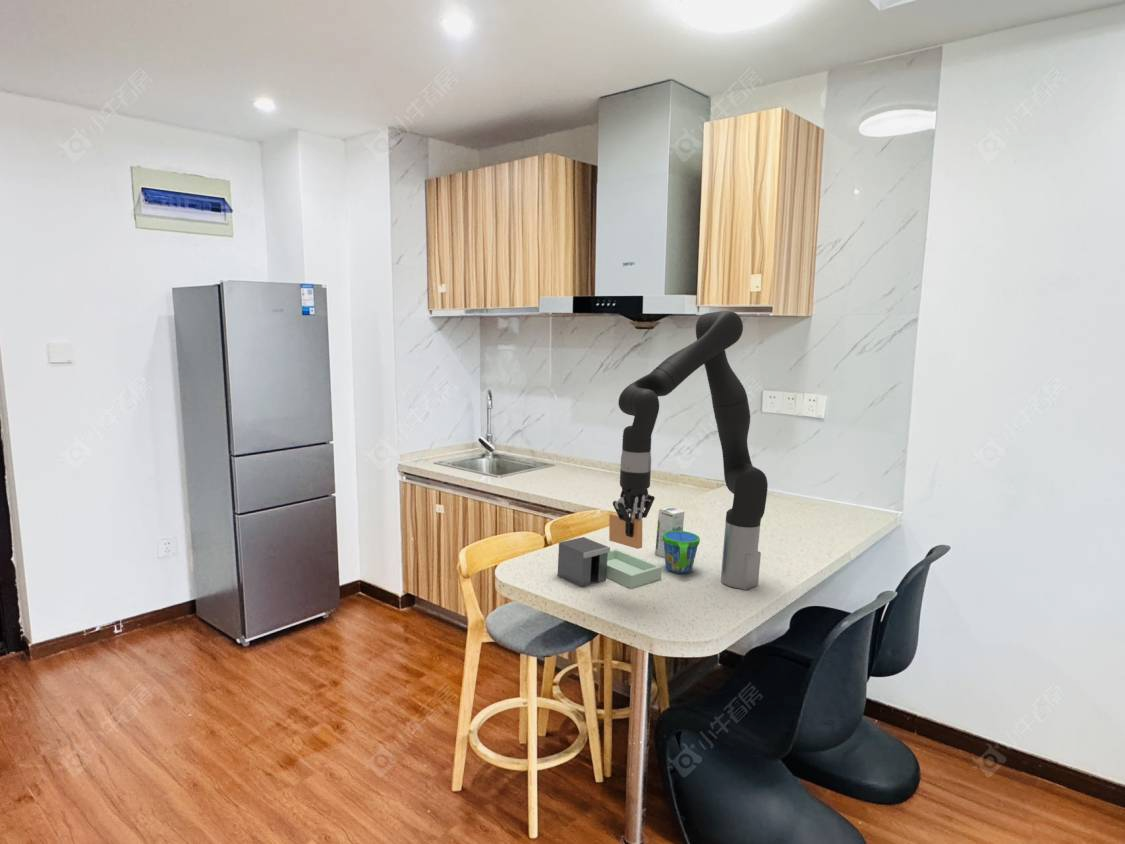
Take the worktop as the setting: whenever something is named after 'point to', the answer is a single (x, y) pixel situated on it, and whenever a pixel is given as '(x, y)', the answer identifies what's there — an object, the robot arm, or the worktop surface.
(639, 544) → the brown rectangular block
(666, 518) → the syrup box
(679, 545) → the snack cup
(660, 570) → the tray
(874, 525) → the worktop surface
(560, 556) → the box
